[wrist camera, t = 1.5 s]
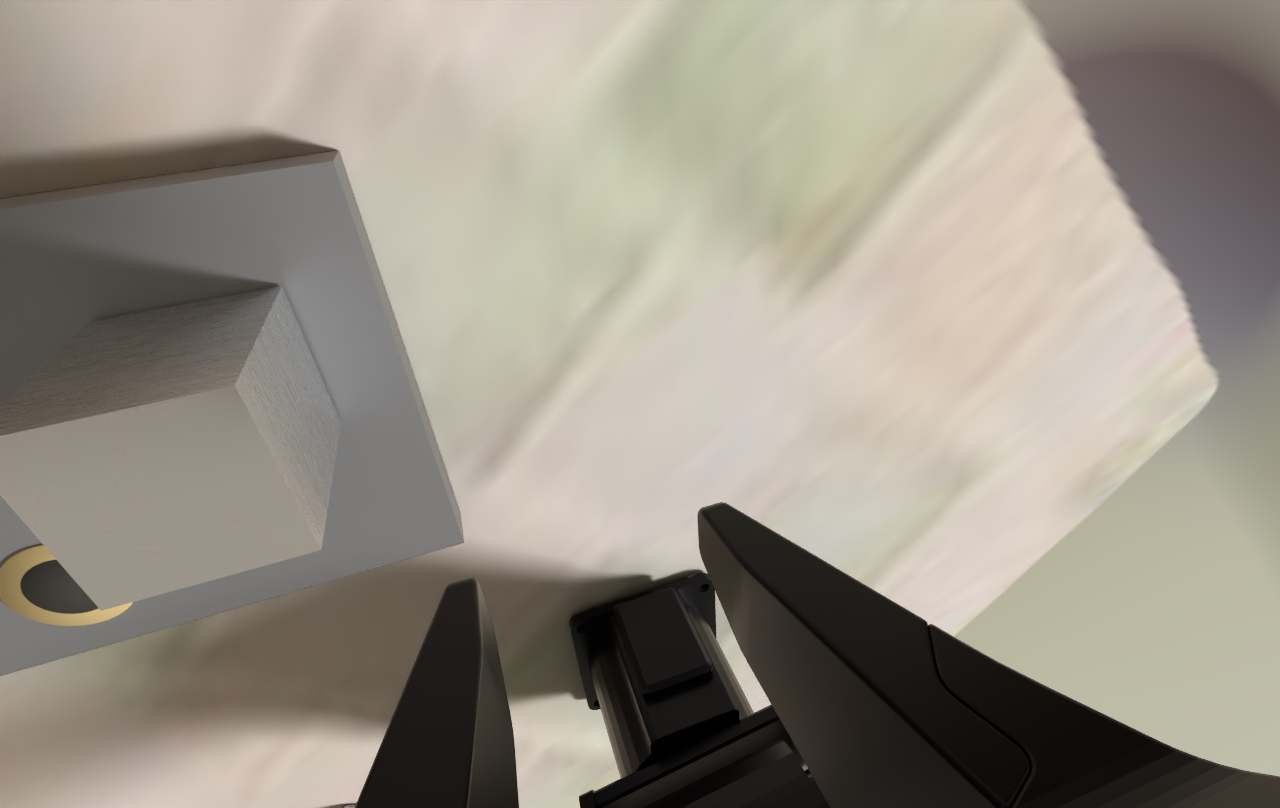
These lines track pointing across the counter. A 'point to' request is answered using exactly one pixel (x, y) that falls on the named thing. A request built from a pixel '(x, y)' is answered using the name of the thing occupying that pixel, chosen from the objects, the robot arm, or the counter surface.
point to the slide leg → (173, 447)
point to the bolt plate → (199, 270)
